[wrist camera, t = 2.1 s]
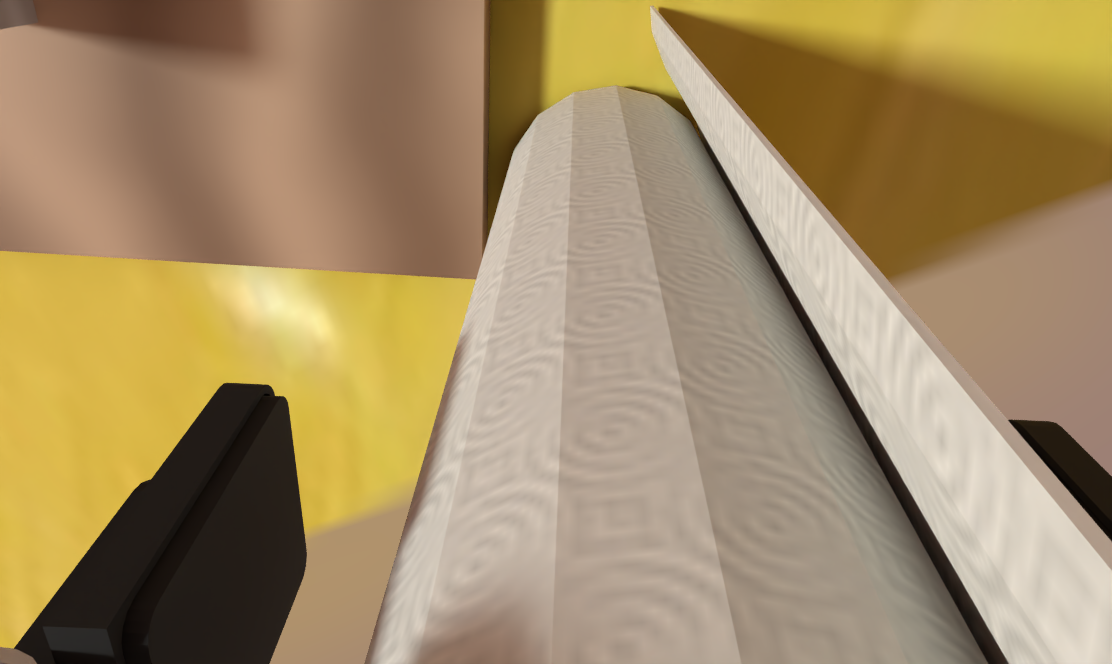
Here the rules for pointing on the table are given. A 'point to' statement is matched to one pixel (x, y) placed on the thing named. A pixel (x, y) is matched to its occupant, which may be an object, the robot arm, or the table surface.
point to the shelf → (248, 132)
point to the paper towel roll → (717, 431)
